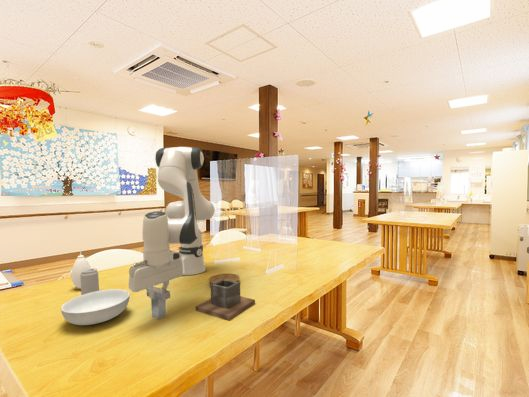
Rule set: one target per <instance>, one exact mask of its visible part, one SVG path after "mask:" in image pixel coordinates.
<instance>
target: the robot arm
mask: <svg viewBox="0 0 529 397" xmlns="http://www.w3.org/2000/svg"><path fill="white" fill-rule="evenodd" d="M204 160H205V157H204V153H203V151H202V150H201V148H199V147H195V146H192V147H190V146H175V147H173V146H172V147H162V148H159V149H158V150H157V151H156V152H155V163H156V166H157V167H158V172H157V183H158V185H159V187H160V188H161V189H162V190H163V191H165V192H166V193H168V194H170V195H174V196H177V197H179V198H181V199H182V200H177V201H172V202H169V203H168V204H167V206H166V209H165V211H160V210H157V211H152V212H148V213H146V214H145V215H144V216H143V220H142V241H143V248H142V253H143V260H142V261H140V262H134V263H133V264H132V265H131V266H130V267H129V269H128V272H129V277H128V289H129V290H130V291H131V292H132V293H133V292H134V293H139V292H140V291H144V290H146V292H147V291H148V293H149V299H150V300H151V299H153V298H155V297H156V293H155V292H153V291H152V289H153V287H156V286H158V285H160V284H162V287H161V289H164V290H167V289H168V287H169V285H170V281H172V280H174V279H178V278H180V277H182V276H191V275H198V274H203V273H205V272H206V270H207V268H206V265H205V258H204V252H203V251H204V246H203V234H202V230H201V229H199V225H198V221H206V220H210V219H212V218H213V217H214V215H215V206H214V204H213V203H212V201H210V200H209V199H207V198H206V197H205V196H204V195H203V194H202V191H201V189H200V185H199V177H198V171H197V170H199V169H201V168H202V167H203V164H204ZM172 244H174V245H175V244H180V245H181V246H178V247H177V249H178V250H179V251H174V250H171V249H170V245H172Z"/></svg>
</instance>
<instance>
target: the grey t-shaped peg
mask: <svg viewBox="0 0 529 397" xmlns="http://www.w3.org/2000/svg"><path fill="white" fill-rule="evenodd" d="M152 291H153V292H155V293H156V297H155V298H153V299H151V298H150V297H149V293H148V291H147V290H146V297H149V298H150V301H151V304H150V305H151V317H152V318H155V319H158V320H160V319H162V318H165V317H166V316H167V306H166V304H167V300H169V299H171V291H170V290H164V289H162V287H160V288H159V287H156V286H153V289H152Z"/></svg>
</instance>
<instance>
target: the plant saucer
mask: <svg viewBox="0 0 529 397" xmlns="http://www.w3.org/2000/svg"><path fill="white" fill-rule="evenodd" d="M222 279H226V280H230V281H235V282H239V280H240V276H239V275H238V274H235V273H220V274H215V275H211V276H210V277H209V278H208V282H209V283H210V285H211V284H213V283H216V282H218V281H220V280H222Z"/></svg>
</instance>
